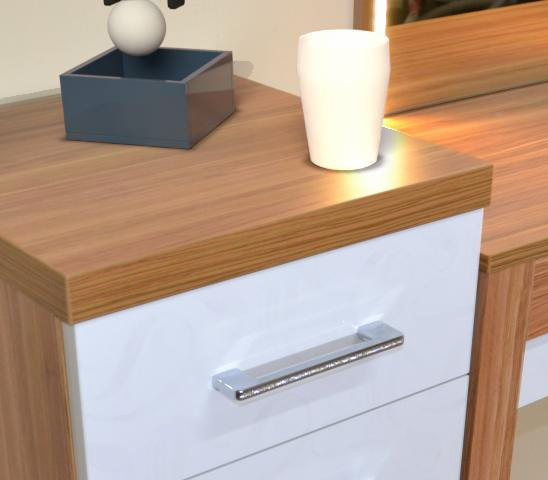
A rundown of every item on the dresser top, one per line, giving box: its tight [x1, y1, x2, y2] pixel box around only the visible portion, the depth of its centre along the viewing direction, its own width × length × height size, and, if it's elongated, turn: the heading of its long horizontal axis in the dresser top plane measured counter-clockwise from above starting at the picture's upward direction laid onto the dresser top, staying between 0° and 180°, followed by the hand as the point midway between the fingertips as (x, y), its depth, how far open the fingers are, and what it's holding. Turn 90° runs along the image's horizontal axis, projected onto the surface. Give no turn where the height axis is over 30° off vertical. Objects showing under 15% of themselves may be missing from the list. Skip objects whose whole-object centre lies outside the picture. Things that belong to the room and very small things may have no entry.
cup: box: [296, 28, 391, 171], centre depth 112 cm, size 9×9×12 cm
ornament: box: [106, 0, 167, 56], centre depth 119 cm, size 6×7×10 cm
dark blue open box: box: [58, 45, 236, 150], centre depth 123 cm, size 15×14×7 cm
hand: (144, 3), depth 119 cm, fingers closed on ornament, 6 cm apart
